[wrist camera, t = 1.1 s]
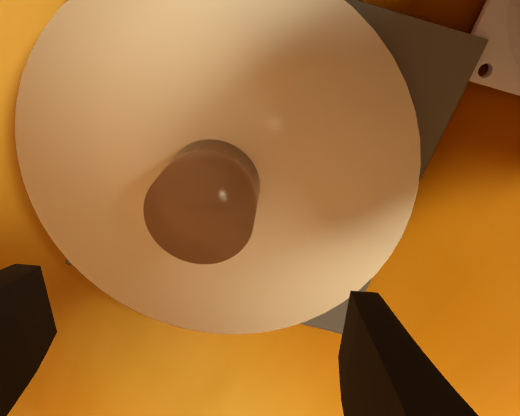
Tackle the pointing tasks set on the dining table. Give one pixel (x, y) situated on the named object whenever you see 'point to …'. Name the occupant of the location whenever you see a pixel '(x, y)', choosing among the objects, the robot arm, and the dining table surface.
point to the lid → (218, 155)
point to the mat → (418, 88)
